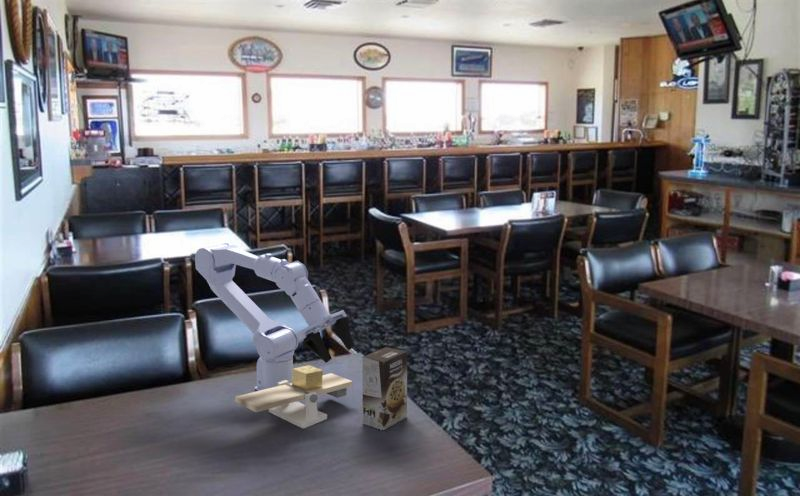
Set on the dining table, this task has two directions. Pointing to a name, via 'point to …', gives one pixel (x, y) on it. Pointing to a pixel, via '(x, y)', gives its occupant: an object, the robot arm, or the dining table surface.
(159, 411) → the dining table surface
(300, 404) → the stand
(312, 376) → the rider
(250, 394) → the beam
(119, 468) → the dining table surface
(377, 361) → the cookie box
